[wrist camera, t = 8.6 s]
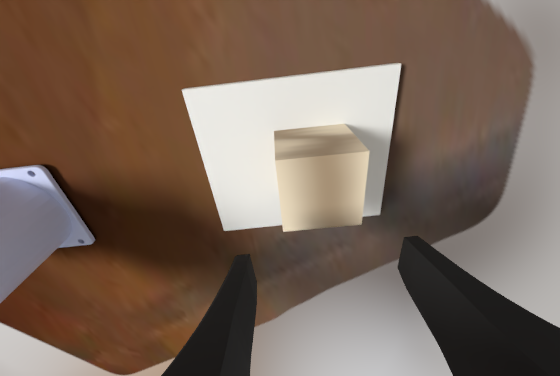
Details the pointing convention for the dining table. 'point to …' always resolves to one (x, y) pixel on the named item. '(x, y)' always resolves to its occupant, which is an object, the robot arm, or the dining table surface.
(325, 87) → the white mat
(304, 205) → the birch block
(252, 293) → the robot arm
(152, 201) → the dining table surface
